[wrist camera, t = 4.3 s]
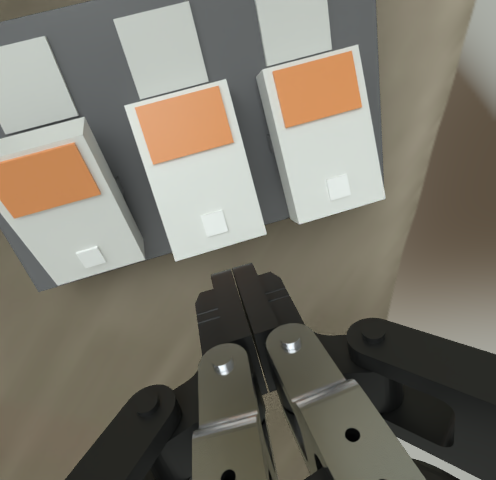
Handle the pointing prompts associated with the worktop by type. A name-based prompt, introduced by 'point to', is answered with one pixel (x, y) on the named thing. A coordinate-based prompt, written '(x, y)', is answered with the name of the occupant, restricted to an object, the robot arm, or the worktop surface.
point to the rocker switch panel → (167, 80)
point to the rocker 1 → (66, 202)
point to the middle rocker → (197, 168)
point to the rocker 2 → (322, 134)
